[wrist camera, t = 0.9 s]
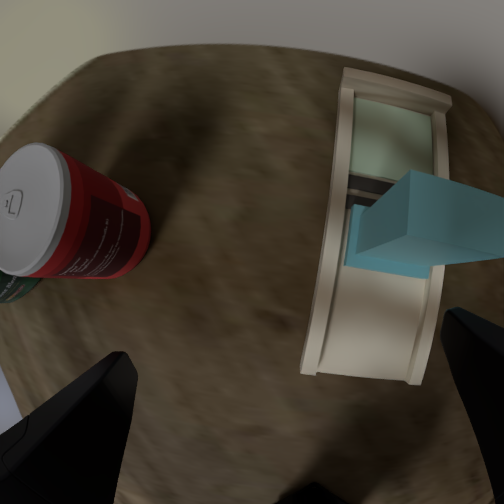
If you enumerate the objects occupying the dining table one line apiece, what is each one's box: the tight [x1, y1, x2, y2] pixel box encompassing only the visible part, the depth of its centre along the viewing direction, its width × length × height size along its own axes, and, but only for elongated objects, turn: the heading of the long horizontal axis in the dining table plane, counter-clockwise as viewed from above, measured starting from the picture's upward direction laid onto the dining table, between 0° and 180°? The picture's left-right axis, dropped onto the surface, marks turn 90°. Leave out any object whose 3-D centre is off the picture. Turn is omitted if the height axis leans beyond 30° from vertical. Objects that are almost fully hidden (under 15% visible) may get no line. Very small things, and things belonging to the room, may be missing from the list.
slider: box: [343, 169, 504, 279], centre depth 14 cm, size 4×6×10 cm, turn 80°
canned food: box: [0, 143, 151, 279], centre depth 18 cm, size 8×8×11 cm
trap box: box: [300, 67, 452, 385], centre depth 19 cm, size 22×9×4 cm, turn 170°
